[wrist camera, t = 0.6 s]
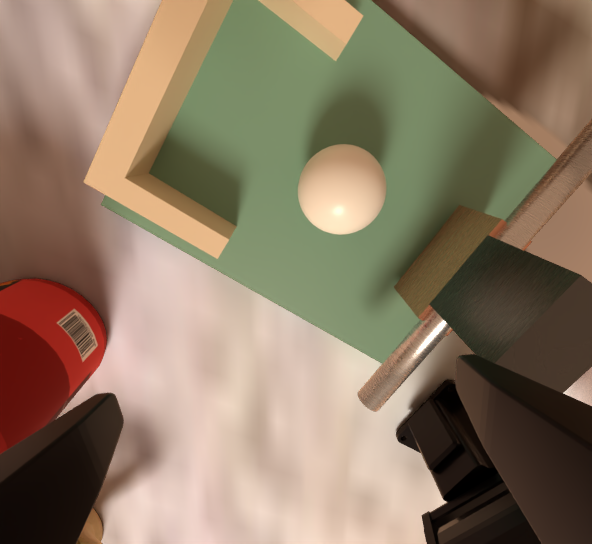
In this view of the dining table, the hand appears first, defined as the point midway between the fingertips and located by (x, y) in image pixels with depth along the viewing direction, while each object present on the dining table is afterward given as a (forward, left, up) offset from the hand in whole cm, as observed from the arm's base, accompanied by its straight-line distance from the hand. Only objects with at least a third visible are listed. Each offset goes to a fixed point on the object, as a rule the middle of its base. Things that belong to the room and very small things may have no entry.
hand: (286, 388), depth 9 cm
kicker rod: (-8, -5, -12) cm, 15 cm away
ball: (0, -5, -10) cm, 11 cm away
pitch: (-1, -5, -13) cm, 14 cm away
